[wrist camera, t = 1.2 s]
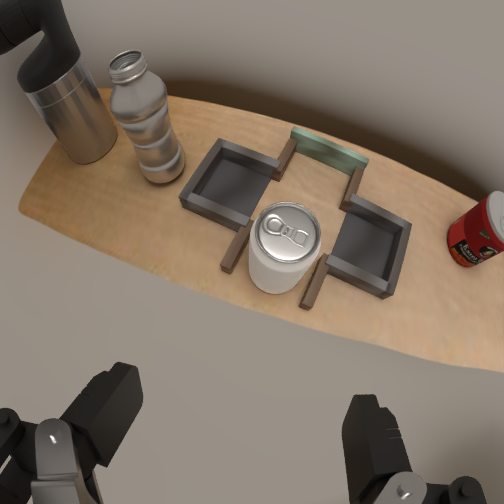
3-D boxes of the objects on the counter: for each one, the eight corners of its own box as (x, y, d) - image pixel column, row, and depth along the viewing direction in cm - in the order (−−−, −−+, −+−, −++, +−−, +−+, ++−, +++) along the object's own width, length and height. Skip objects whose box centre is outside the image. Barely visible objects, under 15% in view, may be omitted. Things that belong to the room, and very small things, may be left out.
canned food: (443, 258, 37) (489, 230, 27) (447, 214, 40) (487, 180, 29) (476, 275, 36) (523, 253, 26) (479, 232, 39) (520, 204, 28)
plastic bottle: (193, 154, 41) (168, 40, 23) (179, 192, 39) (138, 79, 20) (154, 149, 42) (114, 44, 23) (138, 186, 40) (81, 83, 21)
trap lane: (162, 240, 37) (153, 228, 33) (238, 124, 43) (238, 106, 40) (369, 337, 34) (383, 335, 30) (409, 199, 40) (421, 187, 36)
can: (262, 235, 38) (270, 185, 26) (309, 257, 37) (336, 216, 25) (239, 280, 36) (236, 246, 24) (287, 304, 35) (307, 281, 24)
